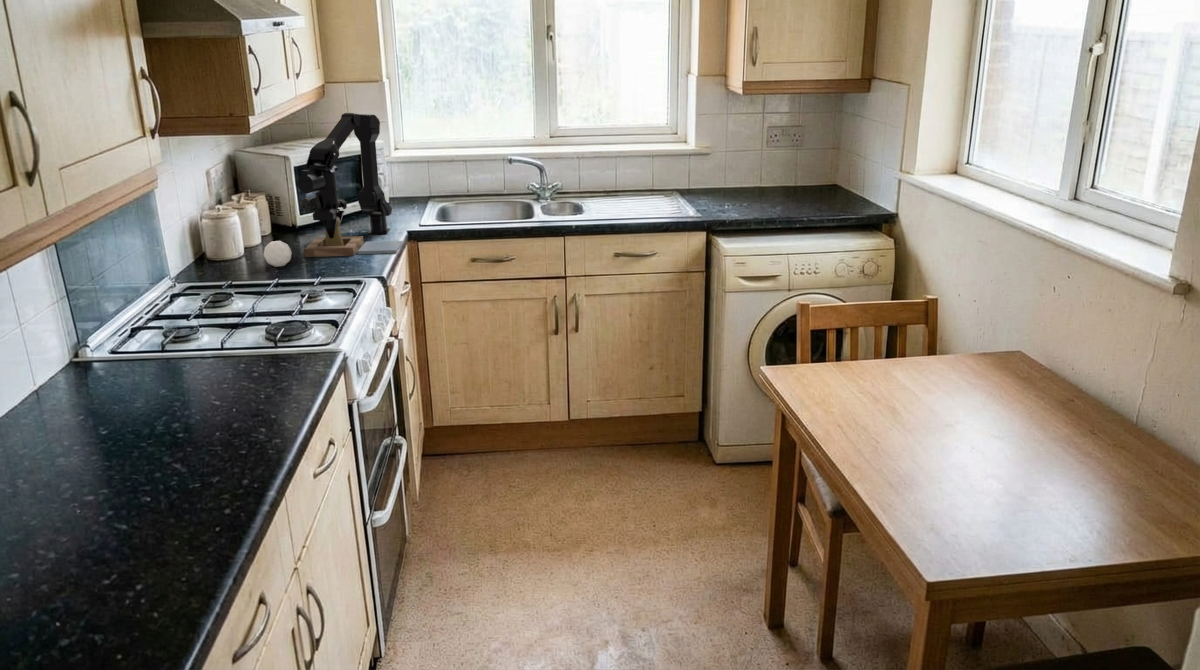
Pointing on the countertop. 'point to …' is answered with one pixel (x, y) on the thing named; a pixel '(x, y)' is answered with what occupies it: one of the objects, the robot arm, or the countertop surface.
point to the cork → (335, 237)
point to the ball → (277, 253)
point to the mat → (380, 247)
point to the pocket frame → (334, 247)
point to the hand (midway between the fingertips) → (333, 236)
